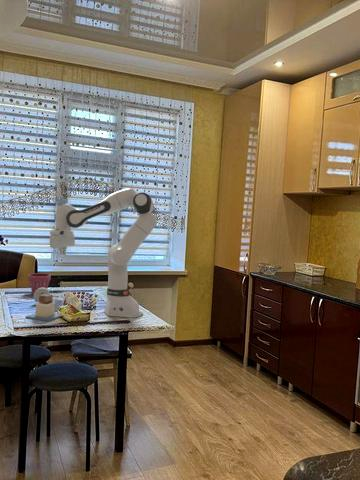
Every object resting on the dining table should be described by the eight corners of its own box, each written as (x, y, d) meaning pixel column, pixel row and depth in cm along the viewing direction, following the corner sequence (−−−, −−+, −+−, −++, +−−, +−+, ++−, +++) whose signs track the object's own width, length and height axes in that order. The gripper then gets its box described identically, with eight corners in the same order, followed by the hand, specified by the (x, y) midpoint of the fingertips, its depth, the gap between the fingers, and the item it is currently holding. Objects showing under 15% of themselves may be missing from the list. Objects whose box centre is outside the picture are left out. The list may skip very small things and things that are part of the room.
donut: (48, 302, 274) (49, 286, 273) (50, 303, 271) (51, 287, 270) (32, 303, 268) (32, 287, 267) (34, 305, 265) (34, 288, 264)
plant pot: (24, 294, 292) (24, 275, 291) (33, 290, 306) (34, 272, 305) (44, 296, 290) (45, 277, 289) (53, 292, 304) (54, 273, 303)
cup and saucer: (63, 316, 244) (64, 301, 243) (47, 321, 231) (48, 306, 230) (42, 312, 249) (43, 298, 248) (25, 318, 236) (26, 303, 235)
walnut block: (52, 303, 241) (52, 294, 240) (46, 305, 236) (46, 296, 236) (44, 302, 243) (45, 293, 242) (38, 304, 238) (39, 295, 237)
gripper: (69, 230, 273) (68, 252, 274) (47, 231, 254) (47, 255, 255) (77, 231, 271) (76, 253, 272) (57, 232, 252) (56, 256, 253)
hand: (62, 254), depth 264 cm, fingers closed
